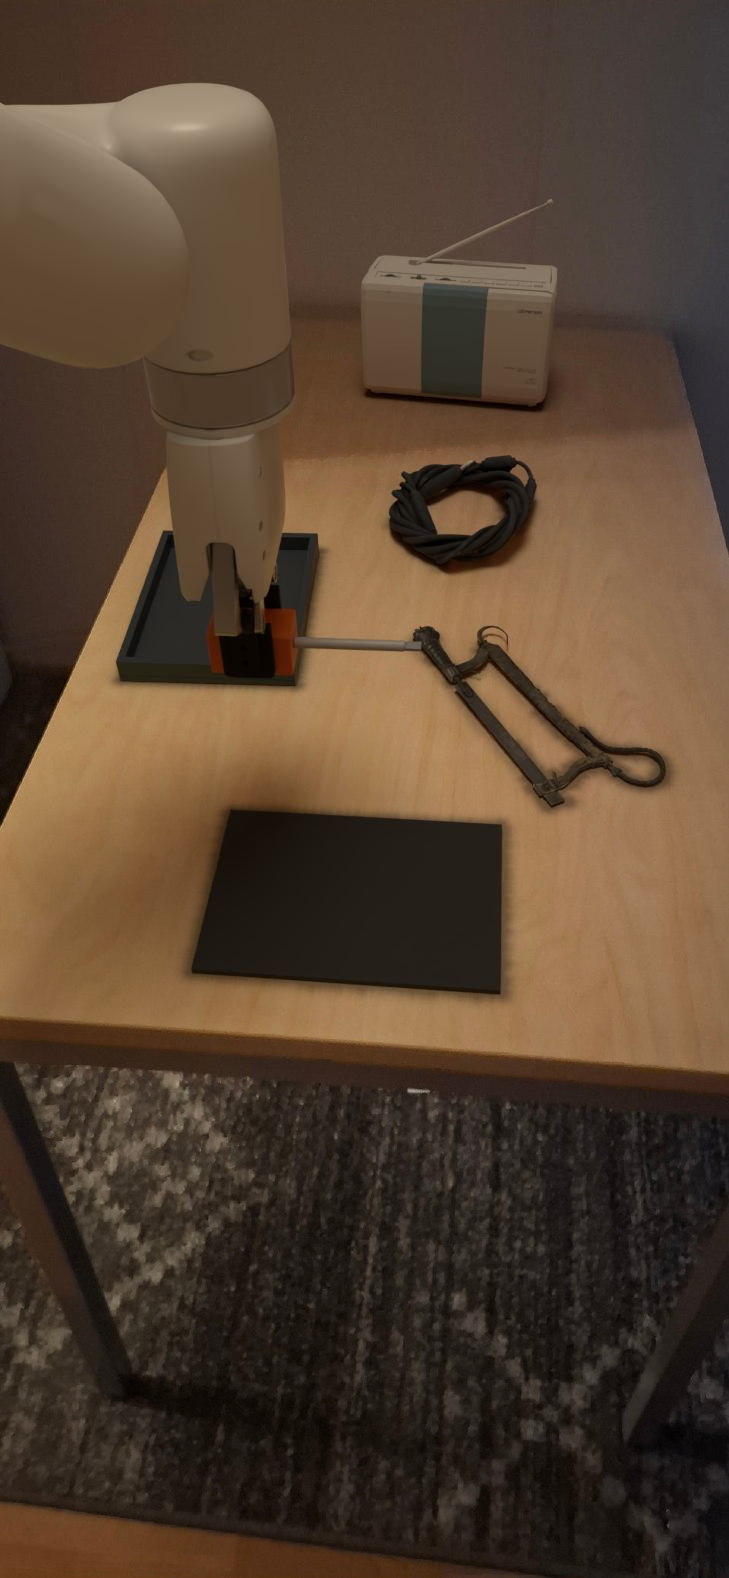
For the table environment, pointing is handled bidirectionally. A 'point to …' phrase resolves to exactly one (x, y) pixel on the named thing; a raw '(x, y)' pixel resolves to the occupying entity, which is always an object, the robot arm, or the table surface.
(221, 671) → the screwdriver
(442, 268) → the radio
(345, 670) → the table surface
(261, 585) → the robot arm
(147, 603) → the tray
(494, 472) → the cable
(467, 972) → the mat
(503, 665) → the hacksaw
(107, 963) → the table surface
